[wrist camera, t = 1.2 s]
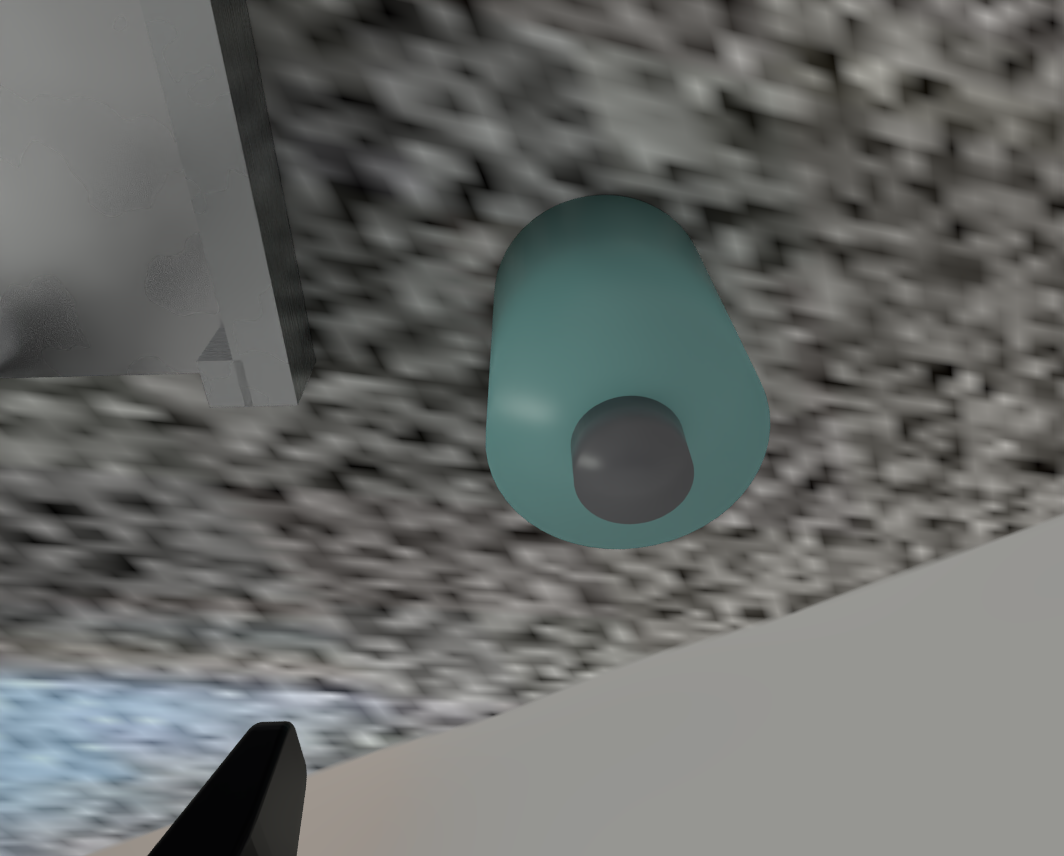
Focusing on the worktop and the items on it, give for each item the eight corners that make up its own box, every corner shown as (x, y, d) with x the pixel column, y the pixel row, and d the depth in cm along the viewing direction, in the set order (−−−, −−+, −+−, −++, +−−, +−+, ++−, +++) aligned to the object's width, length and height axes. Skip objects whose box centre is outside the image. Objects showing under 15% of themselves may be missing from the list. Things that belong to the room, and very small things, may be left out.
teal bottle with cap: (498, 390, 21) (490, 589, 15) (489, 197, 18) (474, 349, 12) (694, 386, 21) (762, 583, 15) (715, 192, 18) (810, 341, 12)
